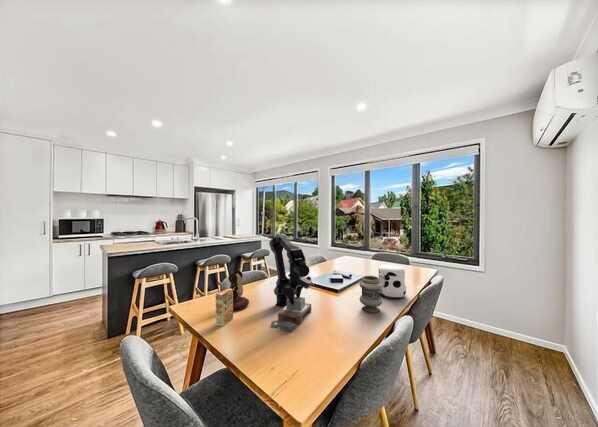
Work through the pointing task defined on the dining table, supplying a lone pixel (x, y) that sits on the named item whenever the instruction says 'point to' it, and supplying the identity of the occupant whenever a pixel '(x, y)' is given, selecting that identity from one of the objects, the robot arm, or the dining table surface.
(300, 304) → the housing
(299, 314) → the walnut stand
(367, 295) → the apothecary jar
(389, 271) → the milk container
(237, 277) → the brown wooden figurine
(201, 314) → the dining table surface
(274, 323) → the steel nut
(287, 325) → the rubber block
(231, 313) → the candy box
